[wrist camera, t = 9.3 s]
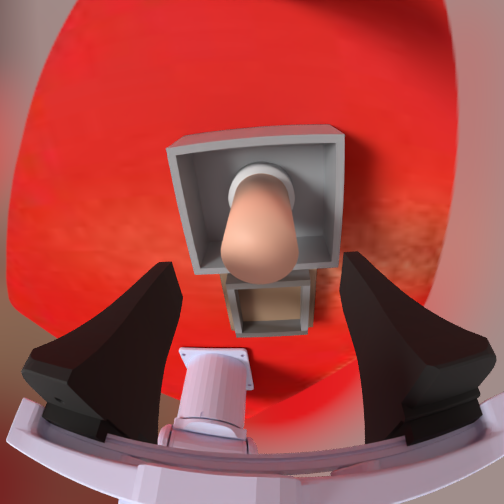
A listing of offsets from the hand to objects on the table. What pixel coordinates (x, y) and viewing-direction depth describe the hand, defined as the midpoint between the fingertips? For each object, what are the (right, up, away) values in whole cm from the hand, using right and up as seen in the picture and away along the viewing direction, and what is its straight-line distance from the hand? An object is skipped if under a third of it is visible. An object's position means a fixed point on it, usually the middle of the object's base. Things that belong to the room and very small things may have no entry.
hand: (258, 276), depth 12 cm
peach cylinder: (0, +5, +8) cm, 10 cm away
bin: (0, +6, +8) cm, 10 cm away
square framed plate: (+1, -3, +14) cm, 14 cm away
